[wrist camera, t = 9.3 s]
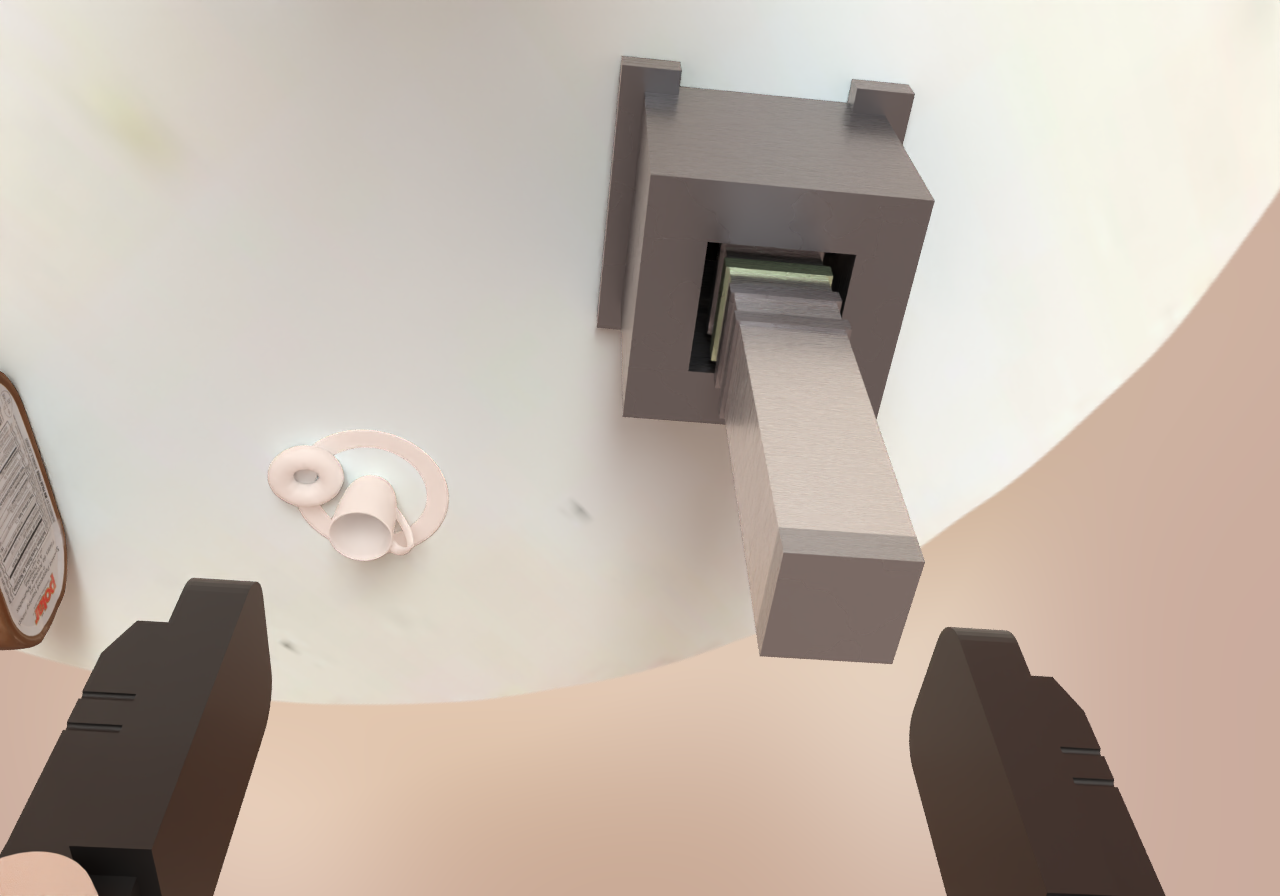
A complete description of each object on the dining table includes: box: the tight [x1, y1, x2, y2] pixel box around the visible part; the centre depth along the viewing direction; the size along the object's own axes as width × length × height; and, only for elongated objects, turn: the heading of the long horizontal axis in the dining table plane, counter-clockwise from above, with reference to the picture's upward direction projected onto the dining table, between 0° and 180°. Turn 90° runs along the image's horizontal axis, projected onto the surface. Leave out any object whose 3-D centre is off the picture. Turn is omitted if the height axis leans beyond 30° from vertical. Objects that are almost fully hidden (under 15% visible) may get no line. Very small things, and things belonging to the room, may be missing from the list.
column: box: [706, 243, 925, 664], centre depth 38 cm, size 4×4×19 cm
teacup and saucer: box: [268, 430, 449, 561], centre depth 58 cm, size 9×8×4 cm
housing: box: [597, 56, 934, 424], centre depth 47 cm, size 12×12×11 cm
